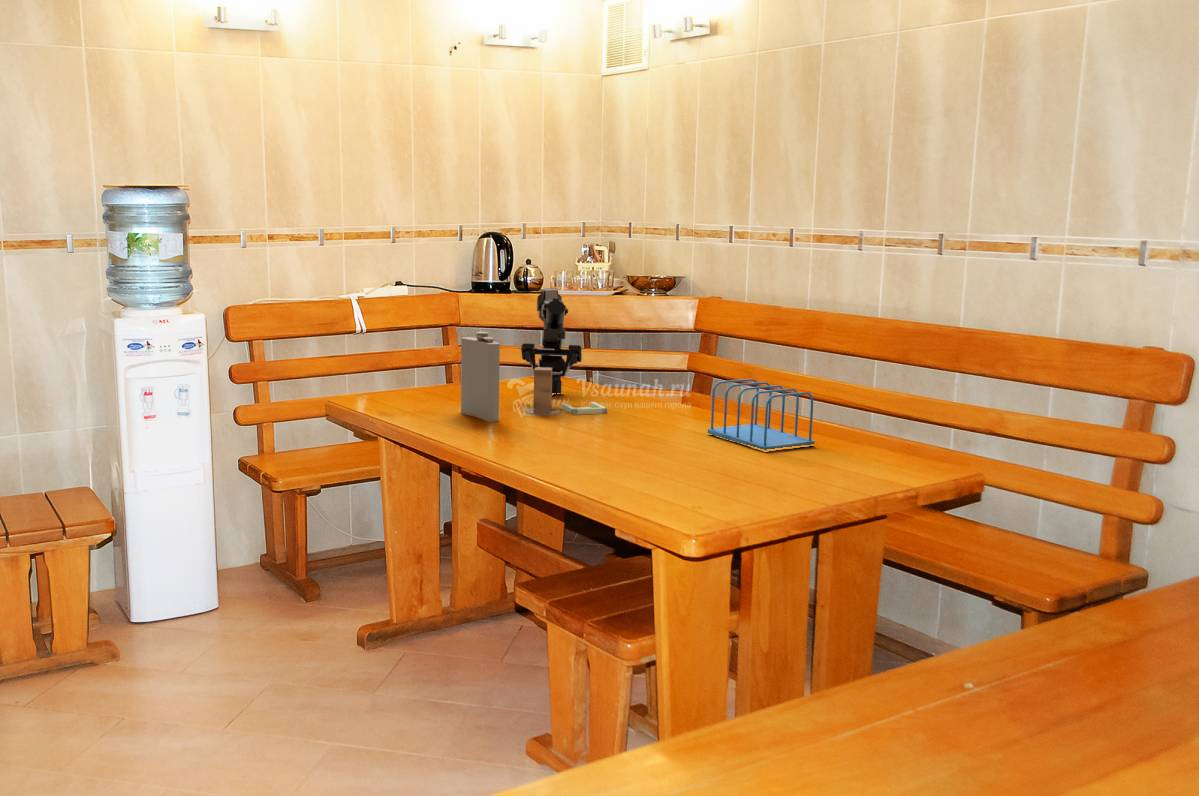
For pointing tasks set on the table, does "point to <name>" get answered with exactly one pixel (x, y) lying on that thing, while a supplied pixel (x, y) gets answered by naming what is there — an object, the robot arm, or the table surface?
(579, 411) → the pocket
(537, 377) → the oak block
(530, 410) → the slate coaster
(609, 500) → the table surface
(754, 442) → the file sorter
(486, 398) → the flask
